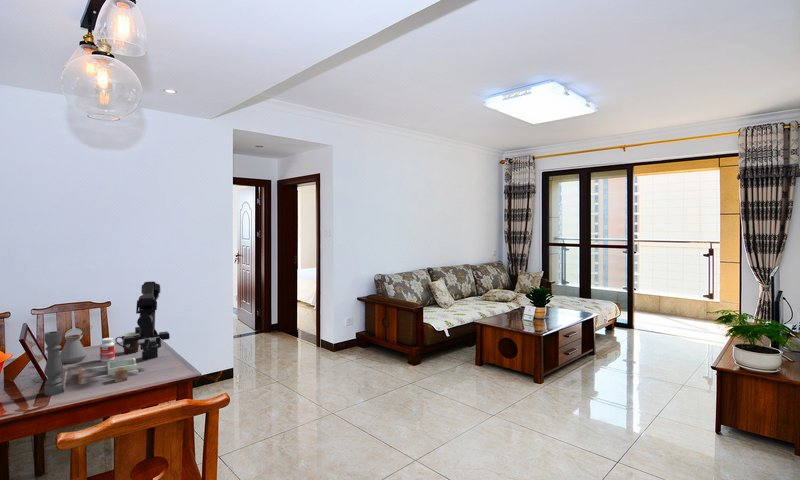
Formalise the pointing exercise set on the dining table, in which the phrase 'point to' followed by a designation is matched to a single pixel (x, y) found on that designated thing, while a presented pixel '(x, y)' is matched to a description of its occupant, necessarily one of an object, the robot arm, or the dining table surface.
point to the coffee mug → (131, 347)
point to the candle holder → (53, 364)
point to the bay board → (99, 378)
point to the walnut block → (121, 374)
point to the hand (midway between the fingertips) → (147, 355)
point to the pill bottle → (107, 350)
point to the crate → (122, 365)
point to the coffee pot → (73, 349)
